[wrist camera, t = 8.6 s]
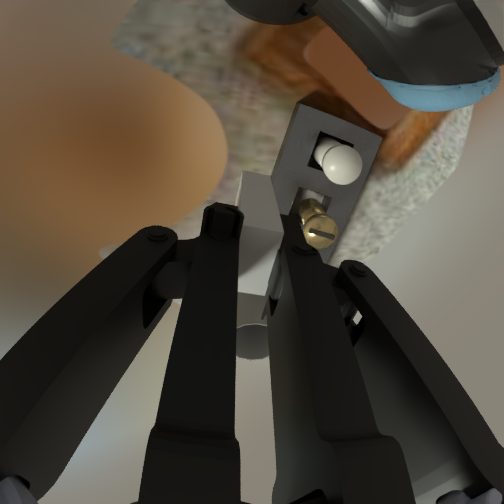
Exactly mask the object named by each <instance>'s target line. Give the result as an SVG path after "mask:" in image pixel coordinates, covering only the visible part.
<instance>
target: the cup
mask: <svg viewBox="0 0 504 504" xmlns="http://www.w3.org/2000/svg"><path fill="white" fill-rule="evenodd" d="M268 294H269V287H267V290H266V294H265V296H262V295H256V294H249V293H243V292H238V300H237V335H236V356H237V357H239V358H243V359H247V360H258V359H264V358H266V357H269V345H268V331H267V317H266V315H265V317H264V320H261V316H262V313H263V310H264V307H265V304H266V300H267V297H268Z"/></svg>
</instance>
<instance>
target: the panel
mask: <svg viewBox="0 0 504 504" xmlns="http://www.w3.org/2000/svg"><path fill="white" fill-rule="evenodd" d="M320 131H322V132H324V133H327V134H329V135H332V136H335V137H337V138H340V139H342V140H345V141H347V142H346V145H347V146H350V147H351V148H353V149H355V150H356V151H357V152H358V153H359V155H360V157H361V160H362V170H361V173H360V175H359V176H358V178H357V179H356V180H355V181H353V182H351V183H349V184H345V185H340V184H336V183H334V182H332V181H331V180H330V179H329V178H328V177H327V176H326V175H325V173H324V171H323V168H322V167H319V166H317V165H314V164H311V163H308V162H309V159H310V156H311V154H312V151H313V148H314V146H315V143H316V140H317V138H318V135H319V132H320ZM381 141H382V137H380V136H378V135H376V134H374V133H372V132H370V131H367V130H365V129H363V128H361V127H358V126H356V125H354V124H352V123H349V122H347V121H344V120H342V119H340V118H337V117H335V116H332V115H330V114H327V113H325V112H322V111H319V110H317V109H314V108H311V107H309V106H306V105H303V104H300V103H296V105H295V108H294V111H293V114H292V117H291V120H290V123H289V125H288V128H287V131H286V134H285V137H284V140H283V143H282V146H281V148H280V151H279V154H278V157H277V160H276V163H275V166H274V169H273V172H272V175H271V181H272V185H273V189H274V193H275V197H276V201H277V205H278V209H279V213H280V214H284V215H289V216H294V217H295V218H296V219H297V220H298V221H299V222H300V224H301V227H302V230H303V226H304V225H303V222H302V220H301V217H300V216H299V215H296V214H292V213H289V212H290V209H291V206H292V204H293V201H294V199H295V196H296V193H297V191H298V188H299V187H301V188H304V189H308V190H311V191H314V192H317V193H320V194H323V195H325V197H324V200H323V202H322V204H321V206H322V208H323V209H324V211H325V213H326V214H327V215H329V216H330V217H332V219H333V220H334V222H335V223H336V225H337V227H338V236H337V238H336V240H335V241H334V243H332V244H331V245H330V246H328V247H326V248H320V249H319V248H316V249H317V250H318V252H319V253H320V255H321V258H322V261H323V263H325V264H327V262H328V260H329V258H330V256H331V254H332V252H333V250H334V248H335V246H336V243H337V241H338V239H339V237H340V235H341V233H342V231H343V229H344V227H345V224H346V222H347V220H348V218H349V216H350V214H351V211H352V209H353V207H354V205H355V202H356V200H357V198H358V196H359V193H360V191H361V189H362V187H363V184H364V182H365V180H366V177H367V175H368V173H369V170H370V168H371V165H372V163H373V161H374V158H375V156H376V153H377V151H378V148H379V146H380V143H381ZM307 244H308V243H307Z"/></svg>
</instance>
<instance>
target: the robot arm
mask: <svg viewBox="0 0 504 504" xmlns="http://www.w3.org/2000/svg"><path fill="white" fill-rule="evenodd" d="M225 1H226V2H227V3H228V4H229V5H230V7H232V8H233V9H234V10H235V11H236V12H238V13H239V14H241V15H243V16H245V17H247V18H249V19H251V20H254V21H257V22H261V23H265V24H272V25H289V24H295V23H299V22H303V21H305V20H308V19H310V18H312V17H314V16H315V15H318V16H319V17H320V18H321V19H322V20H323V21H324V22H325V23H326V24H327V25H328V26H329V27H330V28H331V29H332V30H333V31H334V32H335V33H336V34H337V35H338V36H339V37H340V38H341V39H342V40H343V41H344V42H345V43H346V44H347V45H348V47H350V49H351V50H352V51H353V52H354V53H355V54H356V55H357V56H358V58H359V59H360V60H361V61H362V62H363V63H364V65H365V66H366V67H367V71H368V72H369V73H370V74H371V76H373V77H374V78H375V79H377V80H379V81H380V83H381V84H382V85H383V86H384V87H385V88H386V90H387V91H388V92H389V93H390V95H391V96H392V97H393V98H394V99H395V100H396V101H397V102H399V103H400V104H402V105H406V106H407V107H409V108H411V109H414V110H419V111H429V112H437V111H447V110H454V109H458V108H462V107H466V106H469V105H472V104H474V103H476V102H478V101H480V100H482V98H483V95H490V94H491V93H493V92H494V91H495V89H496V88H497V87H498V85H499V82H500V68H499V66H501V65H504V0H225ZM267 287H269V294H268V297H267V300H266V304H265V307H264V310H263V313H262V316H261V320H264V317H265V315H266V317H267V331H268V345H269V359H270V374H271V389H272V403H273V420H274V436H275V450H276V469H277V475H276V481H275V484H274V487H273V492H272V504H504V448H503V447H502V446H501V445H500V444H499V443H498V441H497V439H496V438H495V436H494V434H493V433H492V431H491V430H490V428H489V426H488V425H487V423H486V422H485V420H484V418H483V417H482V415H481V414H480V412H479V411H478V409H477V407H476V406H475V405H474V403H473V401H472V400H471V399H470V397H469V395H468V394H467V393H466V391H465V390H464V388H463V387H462V385H461V384H460V382H459V381H458V380H457V378H456V377H455V375H454V374H453V372H452V371H451V370H450V368H449V367H448V365H447V364H446V363H445V362H444V360H443V359H442V357H441V356H440V355H439V353H438V352H437V351H436V349H435V348H434V346H433V345H432V344H431V343H430V341H429V340H428V339H427V337H426V336H425V335H424V333H423V332H422V331H421V330H420V328H419V327H418V326H417V324H416V323H415V322H414V321H413V319H412V318H411V317H410V316H409V314H408V313H407V312H406V311H405V309H404V308H403V307H402V306H401V305H400V303H399V302H398V301H397V300H396V299H395V297H394V296H393V295H392V294H391V292H390V291H389V290H388V289H387V288H386V287H385V285H384V284H383V283H382V282H381V281H380V280H379V278H378V277H377V276H376V275H375V274H374V273H373V271H372V270H371V269H369V268H368V267H367V266H366V265H364V264H363V263H361V262H358V261H356V260H344V261H343V262H341V265H340V267H339V269H338V268H336V267H333V266H330V265H328V264H325V263H323V261H322V258H321V255H320V253H319V252H318V250H317V249H316V248H314V247H313V246H311V245H309V244H307V241H306V238H305V236H304V234H303V230H302V227H301V224H300V222H299V221H298V220H297V219H296V218H295V217H294V216H289V215H284V214H280V213H279V209H278V205H277V201H276V197H275V193H274V189H273V185H272V181H271V177H270V176H268V175H263V174H258V173H253V172H248V171H243V170H242V175H241V179H240V184H239V188H238V193H237V198H236V203H235V206H234V205H228V204H223V203H217V202H215V203H214V204H212V205H210V206H207V207H206V208H205V209H204V213H203V220H202V226H201V232H200V236H198V237H196V238H194V239H188V240H178V237H177V234H176V233H175V232H174V231H173V230H171V229H169V228H167V227H162V226H156V225H155V226H149V227H145V228H143V229H141V230H139V231H138V232H137V233H136V234H135V235H133V236H132V237H131V238H129V239H128V240H127V241H126V242H125V243H123V244H122V245H121V246H120V247H119V248H117V249H116V250H115V251H114V252H113V253H111V254H110V255H109V256H108V257H107V258H105V259H104V260H103V261H102V262H101V263H100V264H99V265H97V266H96V267H95V268H94V269H93V270H92V271H90V272H89V273H88V274H87V275H86V276H85V277H84V278H83V279H81V280H80V281H79V282H78V283H77V284H76V285H75V286H74V287H73V288H72V289H70V291H68V292H67V293H66V294H65V295H64V296H63V297H62V298H61V299H60V300H59V301H58V302H57V303H56V304H54V305H53V306H52V307H51V308H50V309H49V310H48V311H47V312H46V313H45V314H44V315H43V316H42V317H41V318H40V319H39V320H38V321H37V322H36V323H35V324H34V325H33V326H32V327H31V328H30V329H29V330H28V331H27V332H26V334H24V335H23V336H22V337H21V338H20V340H19V341H18V342H17V343H16V344H15V345H14V346H13V347H12V348H11V349H10V350H9V351H8V352H7V353H6V354H5V356H4V357H3V358H2V359H1V360H0V504H38V503H37V501H38V500H39V499H40V498H42V497H43V496H44V495H45V494H46V493H47V492H48V491H49V489H50V488H51V487H52V486H53V485H54V484H55V482H56V481H57V479H58V478H59V476H60V475H61V473H62V472H63V471H64V469H65V467H66V466H67V464H68V462H69V461H70V459H71V457H72V456H73V454H74V452H75V451H76V449H77V447H78V445H79V444H80V442H81V441H82V439H83V437H84V436H85V434H86V433H87V431H88V429H89V428H90V426H91V424H92V423H93V421H94V420H95V418H96V417H97V415H98V413H99V412H100V410H101V409H102V407H103V405H104V404H105V402H106V401H107V399H108V398H109V396H110V395H111V393H112V392H113V390H114V388H115V387H116V385H117V384H118V382H119V381H120V379H121V378H122V376H123V375H124V373H125V372H126V370H127V369H128V367H129V365H130V364H131V363H132V361H133V360H134V358H135V357H136V355H137V354H138V352H139V351H140V349H141V347H142V346H143V345H144V343H145V342H146V340H147V339H148V337H149V336H150V334H151V333H152V331H153V329H154V328H155V327H156V325H157V324H158V323H159V321H160V320H161V318H162V317H163V315H164V314H165V312H166V311H167V310H168V308H169V307H170V305H171V303H172V300H173V299H180V298H183V299H182V303H181V308H180V312H179V316H178V320H177V324H176V328H175V332H174V337H173V341H172V345H171V350H170V354H169V359H168V363H167V368H166V373H165V377H164V382H163V387H162V392H161V398H160V402H159V407H158V412H157V417H156V422H155V425H154V427H153V428H152V429H151V432H150V435H149V439H148V443H147V448H146V454H145V461H144V466H143V472H142V478H141V485H140V492H139V499H138V501H137V502H134V503H131V504H250V503H245V502H242V501H241V500H240V499H241V496H240V495H241V494H240V447H239V442H238V441H237V439H236V438H235V429H234V426H235V375H236V335H237V300H238V292H243V293H249V294H256V295H262V296H265V294H266V290H267ZM357 311H359V312H360V314H361V315H362V318H361V320H360V321H359V323H358V324H357V325H356V324H355V322H354V321H353V318H354V316H355V315H356V313H357Z"/></svg>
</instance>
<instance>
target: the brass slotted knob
mask: <svg viewBox="0 0 504 504" xmlns="http://www.w3.org/2000/svg"><path fill="white" fill-rule="evenodd" d="M298 212H299V215H300V217H301V220H302V222H303V225H304V226H303V234H304V236H305V238H306V241H307V243H308V244H309V245H311V246H313V247H314V248H319V249H320V248H326V247H328V246H330V245H331V244H332V243H334V241H335V240H336V238H337V236H338V227H337V225H336V223H335V222H334V220H333V219H332V217H330V216H329V215H327V214H326V213H325V211H324V209H323V208H322V206H321V204H320V203H319V202H318V201H317V200H316V199H313V198H308V199H305V200H303V201H302V202H301V203H300V205H299V208H298Z"/></svg>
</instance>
